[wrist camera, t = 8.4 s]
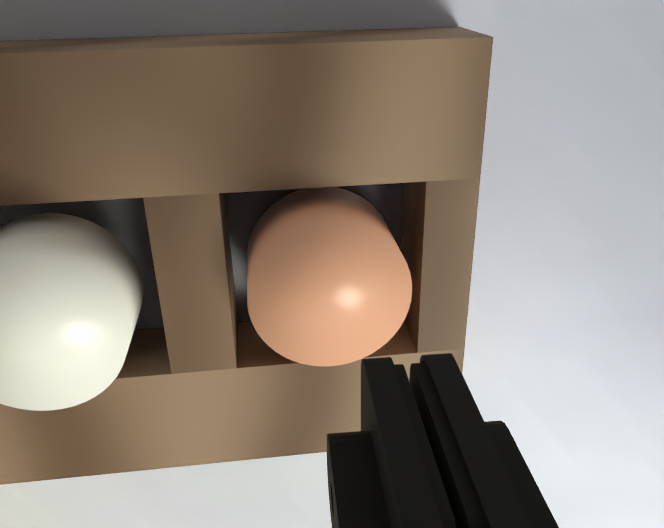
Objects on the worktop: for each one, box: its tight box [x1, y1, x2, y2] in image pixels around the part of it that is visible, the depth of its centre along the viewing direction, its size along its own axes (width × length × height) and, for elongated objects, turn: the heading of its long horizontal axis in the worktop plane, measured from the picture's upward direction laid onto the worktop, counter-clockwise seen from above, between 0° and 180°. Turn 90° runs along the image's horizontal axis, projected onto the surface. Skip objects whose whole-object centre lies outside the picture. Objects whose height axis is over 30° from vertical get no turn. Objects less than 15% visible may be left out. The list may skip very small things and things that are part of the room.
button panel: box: [0, 27, 493, 485], centre depth 17 cm, size 22×12×2 cm, turn 91°
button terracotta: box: [247, 187, 412, 367], centre depth 17 cm, size 4×4×2 cm
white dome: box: [0, 213, 143, 411], centre depth 15 cm, size 4×4×2 cm
